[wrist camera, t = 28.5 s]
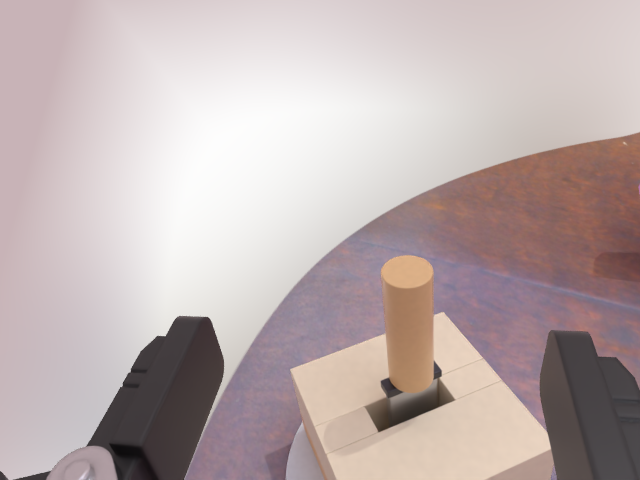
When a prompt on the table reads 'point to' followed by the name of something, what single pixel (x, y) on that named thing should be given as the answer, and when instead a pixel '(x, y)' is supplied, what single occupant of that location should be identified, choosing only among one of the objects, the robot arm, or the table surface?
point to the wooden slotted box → (418, 418)
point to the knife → (409, 338)
